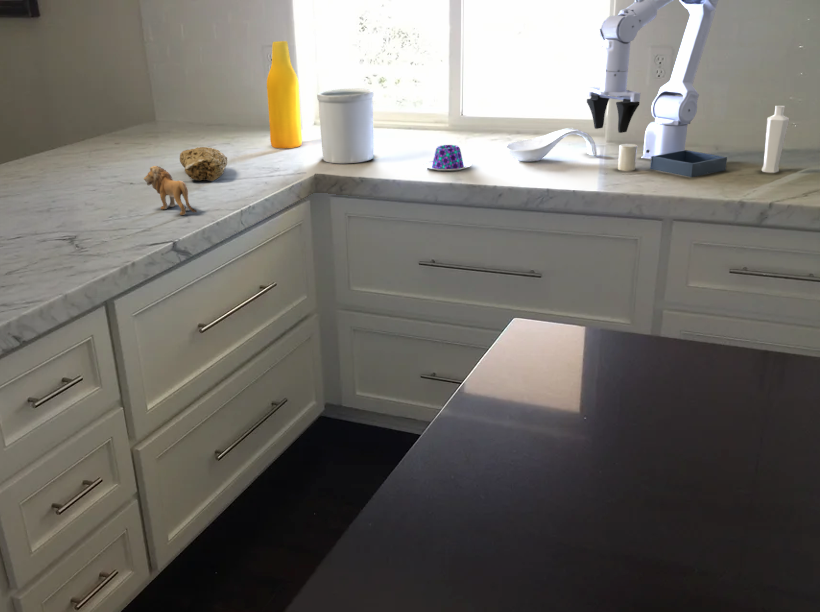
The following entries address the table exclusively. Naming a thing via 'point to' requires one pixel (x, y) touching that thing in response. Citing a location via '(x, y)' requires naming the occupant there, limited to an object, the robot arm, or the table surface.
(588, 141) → the spoon rest
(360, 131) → the utensil holder
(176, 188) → the lion figurine
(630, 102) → the robot arm
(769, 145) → the perfume bottle
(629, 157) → the cream cylinder
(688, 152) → the bin
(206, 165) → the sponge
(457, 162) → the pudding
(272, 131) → the beer bottle
